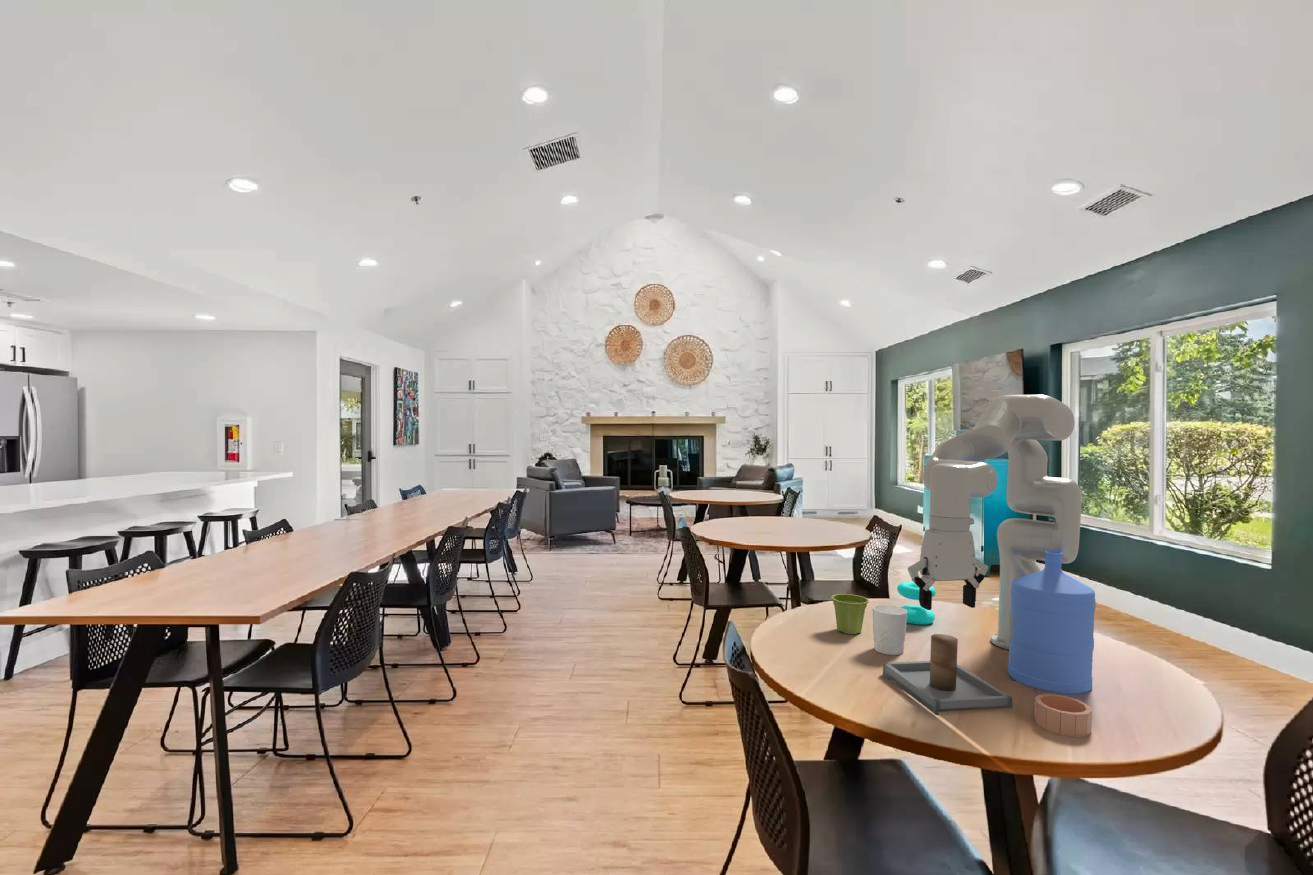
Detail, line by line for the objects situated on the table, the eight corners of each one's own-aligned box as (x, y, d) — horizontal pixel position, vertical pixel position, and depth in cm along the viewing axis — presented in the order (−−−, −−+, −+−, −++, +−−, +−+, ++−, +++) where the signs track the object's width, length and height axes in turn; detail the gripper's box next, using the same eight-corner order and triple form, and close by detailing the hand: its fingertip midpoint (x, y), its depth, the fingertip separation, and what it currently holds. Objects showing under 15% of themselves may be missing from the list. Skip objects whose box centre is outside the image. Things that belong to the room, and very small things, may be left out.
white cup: (901, 646, 164) (902, 605, 164) (910, 657, 157) (911, 615, 156) (868, 644, 165) (869, 604, 165) (875, 655, 157) (876, 613, 157)
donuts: (902, 578, 192) (939, 584, 187) (900, 613, 193) (937, 619, 187) (893, 585, 184) (931, 591, 179) (892, 621, 184) (930, 628, 179)
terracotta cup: (1064, 716, 126) (1065, 693, 126) (1102, 738, 118) (1103, 713, 118) (1024, 719, 125) (1024, 695, 125) (1058, 741, 116) (1059, 715, 116)
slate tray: (949, 671, 148) (950, 659, 148) (1011, 710, 129) (1012, 697, 128) (882, 674, 146) (883, 662, 146) (935, 714, 126) (936, 701, 126)
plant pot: (828, 624, 180) (829, 592, 180) (864, 626, 179) (865, 594, 179) (832, 635, 171) (833, 602, 171) (870, 638, 170) (871, 604, 170)
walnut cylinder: (946, 681, 140) (948, 633, 140) (961, 690, 135) (963, 641, 135) (924, 682, 139) (926, 634, 139) (938, 691, 134) (940, 642, 134)
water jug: (1110, 695, 137) (1116, 559, 136) (1042, 698, 134) (1048, 560, 134) (1053, 666, 152) (1058, 544, 151) (991, 669, 150) (996, 545, 149)
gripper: (976, 520, 141) (974, 600, 142) (900, 522, 138) (898, 603, 139) (999, 526, 134) (997, 610, 135) (920, 528, 131) (918, 614, 132)
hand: (947, 607), depth 137 cm, fingers open, 9 cm apart
